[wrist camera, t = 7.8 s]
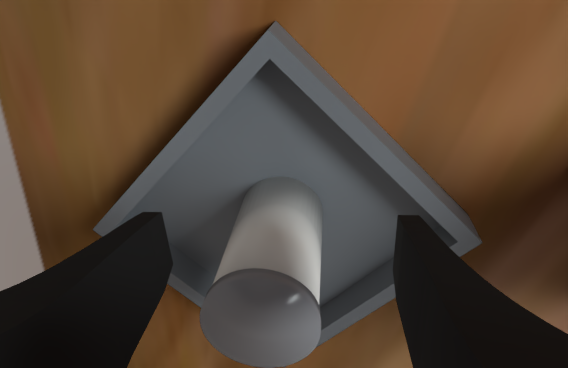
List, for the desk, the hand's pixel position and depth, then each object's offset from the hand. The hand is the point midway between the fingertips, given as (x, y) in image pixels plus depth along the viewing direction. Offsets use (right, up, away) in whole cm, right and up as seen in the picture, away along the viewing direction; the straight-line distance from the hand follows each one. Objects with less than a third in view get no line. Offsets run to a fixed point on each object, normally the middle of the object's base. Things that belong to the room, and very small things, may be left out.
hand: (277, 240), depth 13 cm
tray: (0, 0, +11) cm, 11 cm away
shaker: (0, 0, +10) cm, 10 cm away
